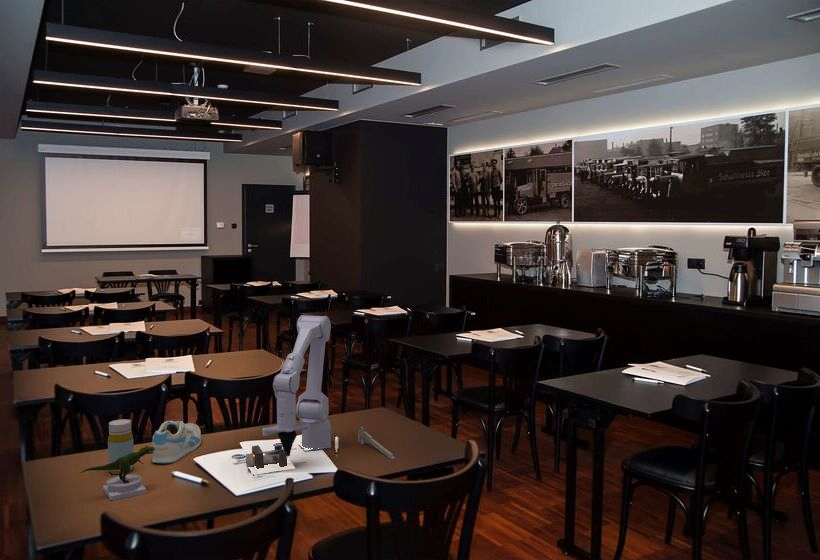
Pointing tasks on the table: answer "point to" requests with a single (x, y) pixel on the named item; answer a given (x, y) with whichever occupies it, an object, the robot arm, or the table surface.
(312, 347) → the robot arm
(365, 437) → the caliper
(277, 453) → the tube
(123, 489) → the dinosaur figurine
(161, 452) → the sneaker
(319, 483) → the table surface
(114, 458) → the bottle
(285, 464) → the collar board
